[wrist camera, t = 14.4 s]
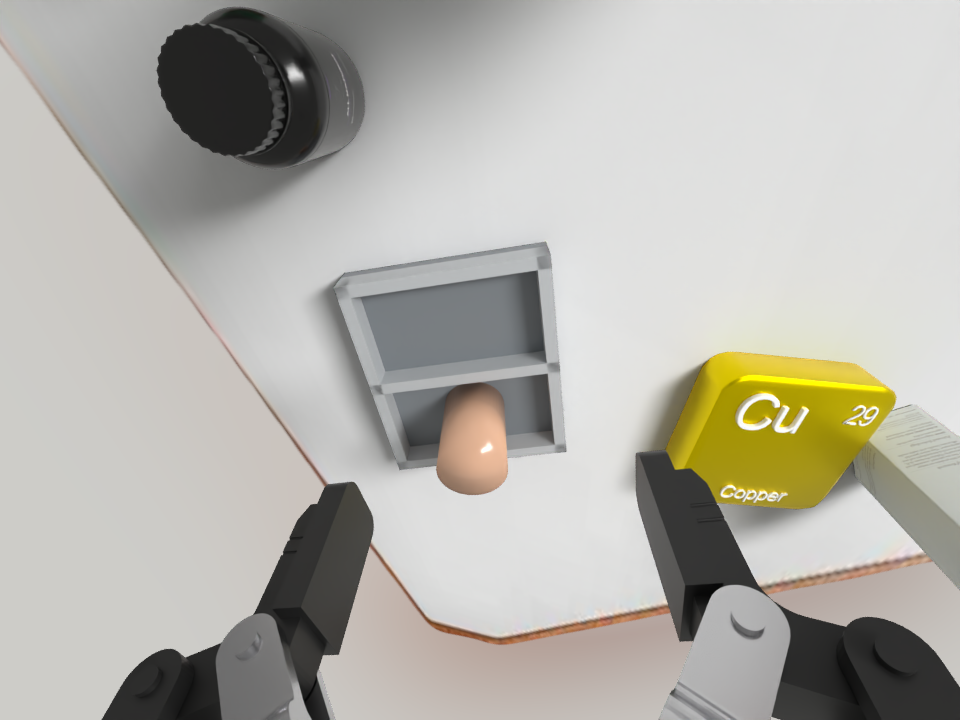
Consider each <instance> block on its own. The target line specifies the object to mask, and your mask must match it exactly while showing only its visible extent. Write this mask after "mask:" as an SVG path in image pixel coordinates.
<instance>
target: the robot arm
mask: <svg viewBox="0 0 960 720" xmlns="http://www.w3.org/2000/svg"><path fill="white" fill-rule="evenodd" d="M636 496H637V502H638V507H639V511H640V515H641V518H642V521H643V524H644V528H645V531H646V534H647V537H648V541H649V544H650V547H651V550H652V554H653V557H654V560H655V563H656V567H657V570H658V573H659V576H660V580H661V583H662V586H663V589H664V593H665V596H666V599H667V602H668V606H669V609H670V612H671V615H672V618H673V622H674V625H675V628H676V631H677V634H678V638H679V641H680V642H681V641H693V644H692V646H691V649H690V652H689V654H688V657H687V659H686V662H685V664H684V667H683V670H682V672H681V675H680V678H679V680H678V682H677V685H676V687H675V689H674V690H673V691H671V693H670V695H669V696H668V699H667V701H666V703H665V705H664V708H663V710H662V712H661V715H660V718H659V720H771V717H774V718H777V719H780V720H960V687H959V685H958V684H957V683H956V681H955V680H954V678H953V677H952V675H951V674H950V672H949V671H948V669H947V668H946V666H945V665H944V663H943V662H942V661H941V659H940V658H939V657H938V655H937V654H936V653H935V651H934V650H933V649H932V648H931V647H930V646H929V645H928V644H927V643H925V642H924V641H923V640H922V639H921V638H920V637H918V636H917V635H916V634H914V633H913V632H911V631H910V630H908V629H906V628H904V627H903V626H900V625H898V624H896V623H894V622H891V621H888V620H885V619H880V618H874V617H862V618H859V619H856V620H854V621H852V622H850V624H848V625H847V627H844V626H840V625H836V624H832V623H828V622H824V621H820V620H816V619H812V618H808V617H804V616H802V615H798V614H796V613H793V612H791V611H789V610H787V609H785V608H783V607H782V606H780V605H779V604H777V603H776V602H774V601H773V600H772V599H771V598H770V597H768V596H767V595H766V594H765V592H764V591H763V590H762V589H761V588H760V587H759V585H758V584H757V582H756V581H755V579H754V577H753V575H752V573H751V571H750V569H749V567H748V565H747V563H746V561H745V559H744V557H743V555H742V553H741V551H740V549H739V547H738V545H737V543H736V541H735V538H734V536H733V534H732V532H731V530H730V528H729V526H728V524H727V522H726V521H725V520H724V516H723V514H722V512H721V510H720V508H719V506H718V505H717V503H716V500H715V498H714V496H713V494H712V492H711V490H710V488H709V486H708V484H707V483H706V482H705V481H704V480H703V479H702V478H701V477H700V476H699V475H698V474H697V473H696V472H694V471H693V470H692V469H691V468H688V469H678V470H675V469H674V466H673V464H672V462H671V459H670V457H669V455H668V453H667V451H666V450H659V451H649V452H640V453H636ZM373 528H374V524H373V517H372V514H371V511H370V510H369V508H368V506H367V504H366V502H365V500H364V498H363V496H362V494H361V492H360V490H359V488H358V486H357V485H356V484H355V483H354V482H345V483H336V484H328V485H327V486H326V487H325V488H324V490H323V492H322V494H321V497H320V499H319V501H318V504H312V505H310V506H309V508H308V509H307V510H306V511H305V512H304V513H303V515H302V516H301V517H300V518H299V519H298V520H297V522H296V525H295V527H294V529H293V531H292V534H291V536H290V541H288V542H287V544H286V546H285V548H284V551H283V555H281V557H280V560H279V561H278V564H277V566H276V568H275V570H274V572H273V574H272V577H271V579H270V581H269V583H268V585H267V587H266V590H265V592H264V594H263V596H262V598H261V600H260V603H259V605H258V607H257V609H256V611H255V613H254V614H253V615H252V616H250V617H247V618H246V619H244V620H242V621H241V622H240V623H238V624H237V625H236V626H235V627H234V628H233V629H232V630H231V631H230V632H229V633H228V634H227V636H226V637H225V638H224V640H223V642H222V643H221V644H218V645H215V646H213V647H210V648H208V649H205V650H203V651H201V652H198V653H196V654H193V655H191V656H189V657H186V658H185V657H184V656H183V655H181V654H180V653H179V652H178V651H176V650H174V649H165V650H161V651H158V652H156V653H154V654H152V655H151V656H149V657H148V658H146V659H145V660H144V661H143V662H141V663H140V664H139V665H138V666H137V667H136V668H135V669H134V670H133V671H132V672H131V673H130V674H129V675H128V677H127V678H126V679H125V681H124V682H123V684H122V686H121V687H120V689H119V691H118V693H117V694H116V696H115V698H114V699H113V701H112V703H111V705H110V707H109V708H108V710H107V711H106V713H105V715H104V717H103V718H102V720H336V719H335V716H334V713H333V710H332V707H331V704H330V700H329V697H328V694H327V691H326V687H325V684H324V681H323V678H322V675H321V672H320V671H319V666H320V663H321V659H322V656H323V655H338V654H339V652H340V648H341V645H342V641H343V638H344V634H345V631H346V627H347V624H348V620H349V617H350V613H351V609H352V606H353V602H354V599H355V595H356V592H357V588H358V585H359V581H360V578H361V574H362V571H363V567H364V564H365V560H366V557H367V553H368V550H369V546H370V543H371V539H372V535H373Z"/></svg>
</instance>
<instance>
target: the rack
mask: <svg viewBox="0 0 960 720" xmlns="http://www.w3.org/2000/svg"><path fill="white" fill-rule="evenodd" d="M334 291H335V294H336V297H337V299H338V302H339V305H340V308H341V310H342V313H343V316H344V319H345V321H346V324H347V327H348V330H349V332H350V335H351V338H352V341H353V343H354V346H355V349H356V352H357V354H358V357H359V360H360V363H361V365H362V368H363V371H364V373H365V376H366V379H367V382H368V384H369V387H370V390H371V393H372V395H373V398H374V401H375V404H376V406H377V409H378V412H379V415H380V417H381V420H382V423H383V426H384V428H385V431H386V434H387V437H388V439H389V442H390V445H391V448H392V450H393V453H394V456H395V459H396V461H397V464H398V467H399V470H403V469H412V468H421V467H430V466H437V459H438V452H439V445H440V437H441V430H442V423H443V415H444V408H445V401H446V397H447V395H448V394H449V392H450V391H451V390H452V389H453V388H455V387H456V386H458V385H461V384H469V383H477V382H482V383H486V384H489V385H491V386H493V387H494V388H495V389H497V390H498V391H499V392H500V394H501V395H502V397H503V399H504V405H505V424H506V444H507V458H513V457H523V456H532V455H541V454H550V453H560V452H566V440H565V427H564V415H563V402H562V390H561V377H560V365H559V352H558V340H557V327H556V315H555V302H554V289H553V277H552V264H551V254H550V251H549V249H548V246H547V243H546V242H541V243H535V244H529V245H522V246H516V247H509V248H503V249H496V250H490V251H484V252H477V253H471V254H464V255H458V256H451V257H445V258H439V259H432V260H426V261H419V262H413V263H406V264H400V265H394V266H387V267H381V268H374V269H368V270H361V271H355V272H349V273H344V275H343V276H342V277H341V278H340V280H339V281H338V282H337V284H336V285H335V286H334Z"/></svg>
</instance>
